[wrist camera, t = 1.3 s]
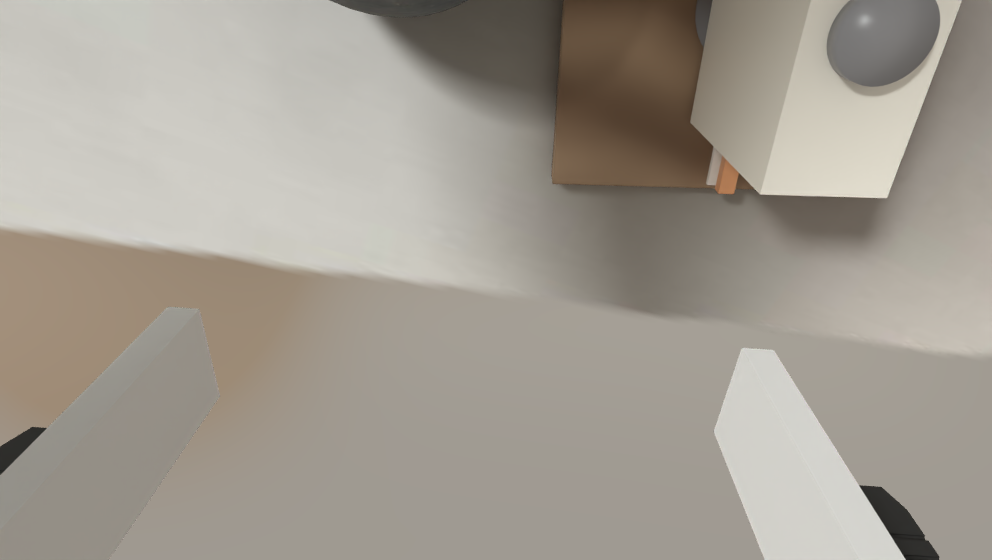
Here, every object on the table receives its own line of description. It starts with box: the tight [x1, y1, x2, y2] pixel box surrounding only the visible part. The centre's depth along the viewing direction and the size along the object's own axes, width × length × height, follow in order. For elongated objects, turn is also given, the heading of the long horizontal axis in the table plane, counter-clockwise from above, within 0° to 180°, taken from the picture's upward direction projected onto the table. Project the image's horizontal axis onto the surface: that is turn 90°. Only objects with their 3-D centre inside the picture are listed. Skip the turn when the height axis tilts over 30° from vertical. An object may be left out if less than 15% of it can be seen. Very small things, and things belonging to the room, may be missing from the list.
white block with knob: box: [690, 0, 962, 198], centre depth 25 cm, size 16×5×12 cm, turn 179°
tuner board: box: [551, 0, 754, 189], centre depth 30 cm, size 20×20×2 cm
